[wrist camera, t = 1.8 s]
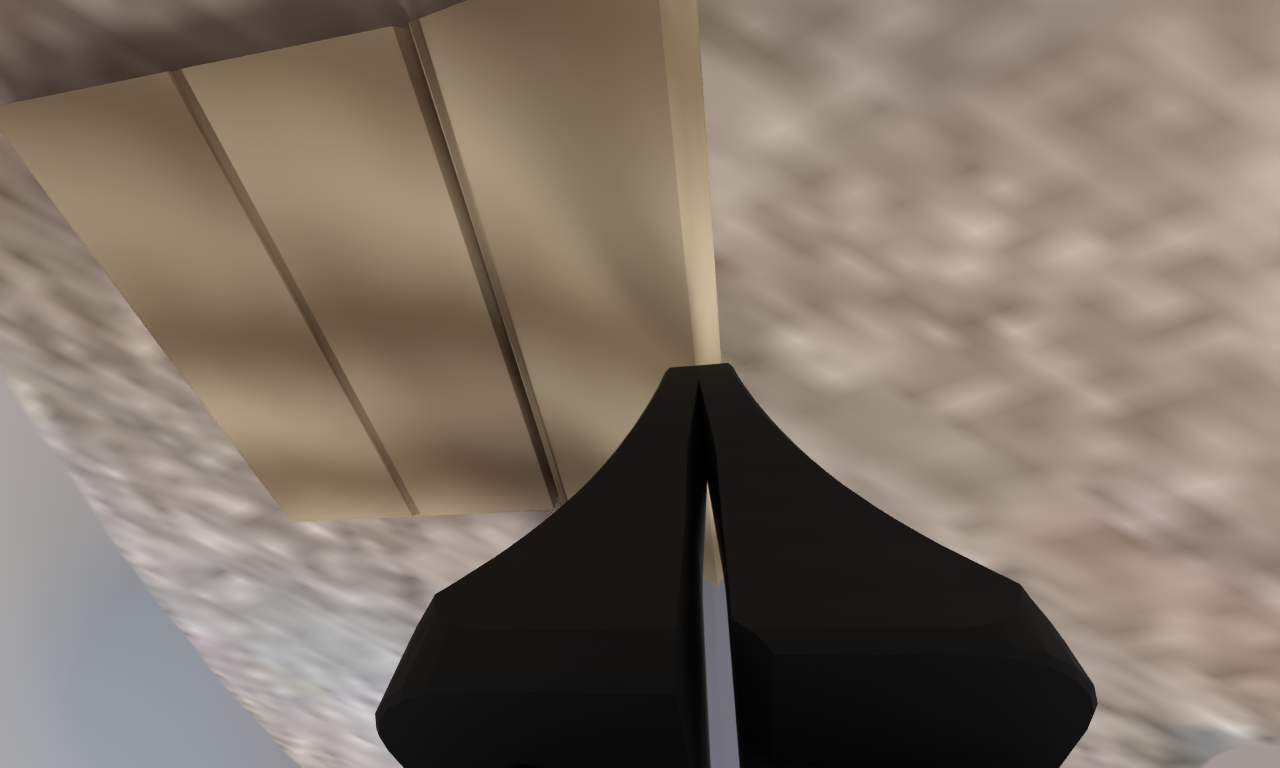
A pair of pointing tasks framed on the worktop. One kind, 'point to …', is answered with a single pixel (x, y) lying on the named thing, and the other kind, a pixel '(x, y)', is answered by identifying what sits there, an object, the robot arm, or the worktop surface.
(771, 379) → the worktop surface
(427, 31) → the oak plank
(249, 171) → the floor panel
